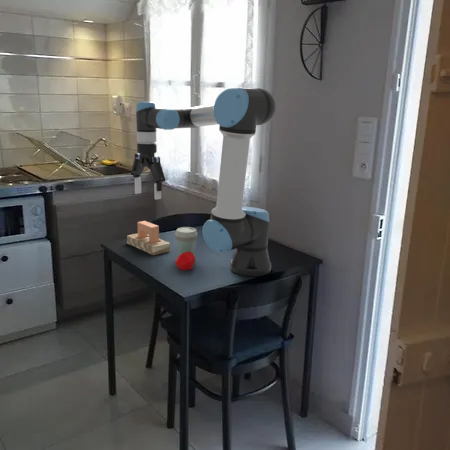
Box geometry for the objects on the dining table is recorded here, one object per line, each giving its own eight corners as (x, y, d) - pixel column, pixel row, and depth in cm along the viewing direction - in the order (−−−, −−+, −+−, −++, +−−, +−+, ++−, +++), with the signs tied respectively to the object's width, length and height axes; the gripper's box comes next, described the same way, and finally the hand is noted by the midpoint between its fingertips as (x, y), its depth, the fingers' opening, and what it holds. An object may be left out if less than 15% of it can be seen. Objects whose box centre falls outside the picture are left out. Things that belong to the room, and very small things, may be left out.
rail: (170, 251, 195) (170, 243, 194) (153, 255, 190) (153, 246, 189) (143, 239, 208) (142, 232, 207) (127, 243, 203) (127, 235, 202)
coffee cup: (193, 264, 182) (194, 233, 179) (172, 261, 183) (172, 231, 180) (199, 256, 190) (200, 227, 187) (178, 254, 192) (178, 225, 188)
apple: (179, 259, 171) (195, 247, 175) (169, 257, 176) (184, 246, 181) (187, 275, 174) (202, 263, 178) (176, 273, 179) (191, 261, 183)
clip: (158, 249, 197) (158, 226, 194) (151, 251, 195) (151, 227, 192) (144, 243, 204) (144, 220, 201) (137, 245, 201) (137, 222, 199)
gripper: (174, 145, 181) (174, 200, 187) (136, 139, 199) (138, 190, 204) (158, 146, 176) (158, 202, 182) (121, 140, 194) (122, 192, 199)
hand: (147, 196), depth 193 cm, fingers open, 13 cm apart
